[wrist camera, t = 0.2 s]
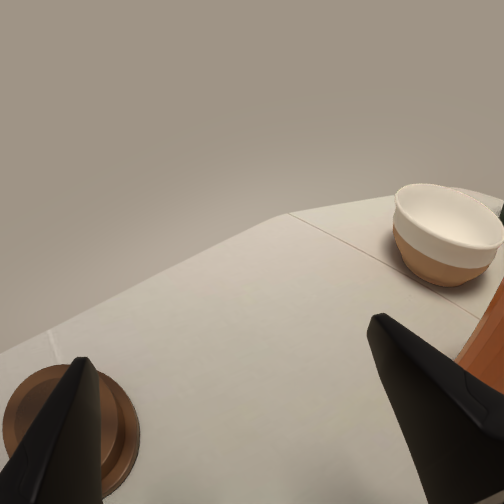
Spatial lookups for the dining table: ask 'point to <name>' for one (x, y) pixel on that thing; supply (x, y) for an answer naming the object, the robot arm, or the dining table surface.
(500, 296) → the cup
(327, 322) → the dining table surface
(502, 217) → the coffee jar
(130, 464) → the stand
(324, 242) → the dining table surface
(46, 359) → the dining table surface
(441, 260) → the bowl
